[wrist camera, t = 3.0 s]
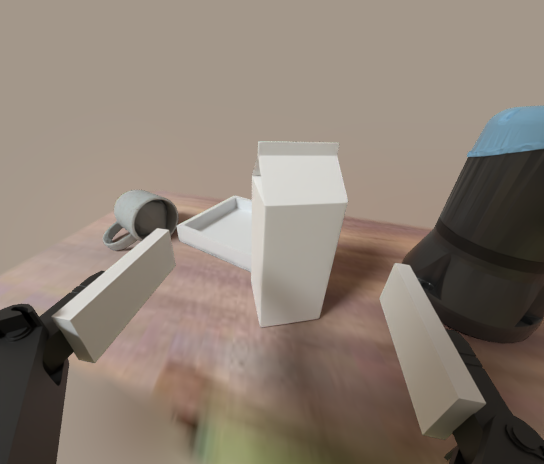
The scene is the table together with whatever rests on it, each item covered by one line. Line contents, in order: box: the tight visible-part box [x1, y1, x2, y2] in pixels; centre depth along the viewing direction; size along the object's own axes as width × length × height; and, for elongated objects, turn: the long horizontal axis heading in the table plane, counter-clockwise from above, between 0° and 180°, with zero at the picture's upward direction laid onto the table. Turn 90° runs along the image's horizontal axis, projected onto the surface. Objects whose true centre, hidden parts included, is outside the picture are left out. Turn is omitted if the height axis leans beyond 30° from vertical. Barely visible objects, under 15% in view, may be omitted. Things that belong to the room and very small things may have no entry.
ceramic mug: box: [103, 190, 178, 251], centre depth 38 cm, size 11×8×8 cm
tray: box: [176, 195, 252, 272], centre depth 41 cm, size 16×16×3 cm
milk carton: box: [251, 141, 348, 327], centre depth 24 cm, size 7×7×19 cm
